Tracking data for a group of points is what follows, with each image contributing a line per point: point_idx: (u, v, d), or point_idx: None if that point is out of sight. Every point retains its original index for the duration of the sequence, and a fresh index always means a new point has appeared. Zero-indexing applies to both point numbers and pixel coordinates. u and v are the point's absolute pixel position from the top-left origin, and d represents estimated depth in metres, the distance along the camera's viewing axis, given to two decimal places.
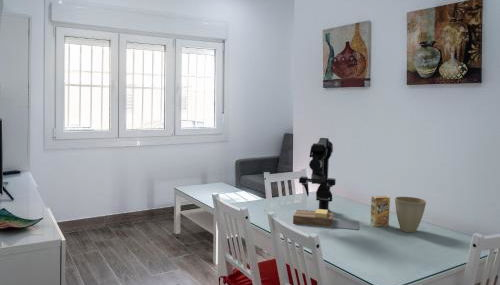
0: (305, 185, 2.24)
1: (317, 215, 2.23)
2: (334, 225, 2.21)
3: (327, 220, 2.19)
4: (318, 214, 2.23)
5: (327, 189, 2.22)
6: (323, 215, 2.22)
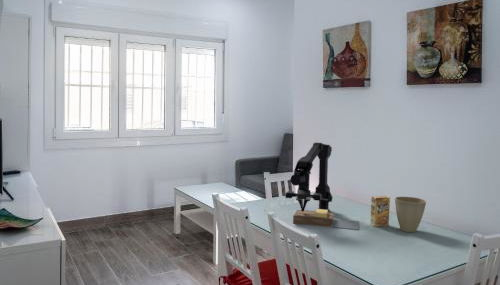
0: (299, 200, 2.27)
1: (317, 215, 2.23)
2: (334, 225, 2.21)
3: (327, 220, 2.19)
4: (318, 214, 2.23)
5: (304, 203, 2.27)
6: (323, 215, 2.22)
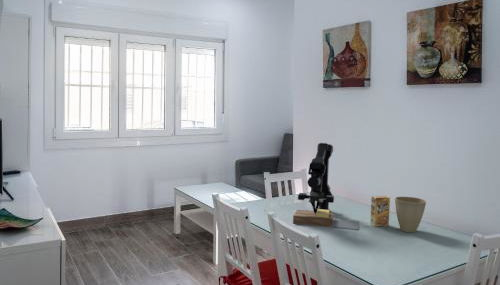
0: (312, 202, 2.25)
1: (319, 215, 2.23)
2: (334, 225, 2.21)
3: (327, 220, 2.19)
4: (320, 214, 2.23)
5: (317, 205, 2.26)
6: (325, 215, 2.22)
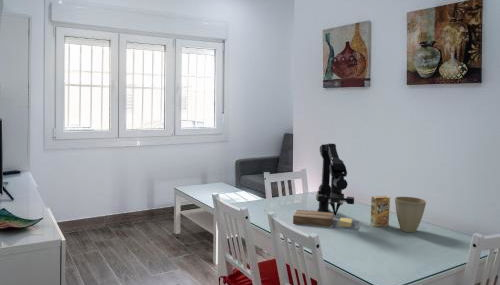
0: (332, 204, 2.23)
1: (348, 224, 2.19)
2: (334, 225, 2.21)
3: (327, 220, 2.19)
4: (347, 225, 2.19)
5: (337, 207, 2.23)
6: (342, 223, 2.20)
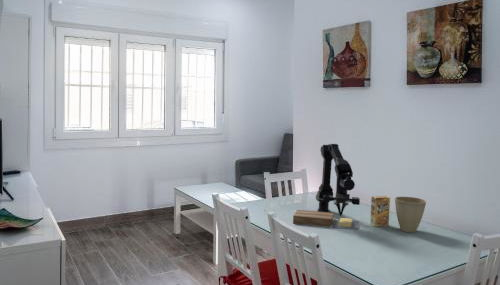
0: (337, 205, 2.22)
1: (348, 224, 2.19)
2: (334, 225, 2.21)
3: (327, 220, 2.19)
4: (347, 225, 2.19)
5: (343, 207, 2.22)
6: (342, 223, 2.20)
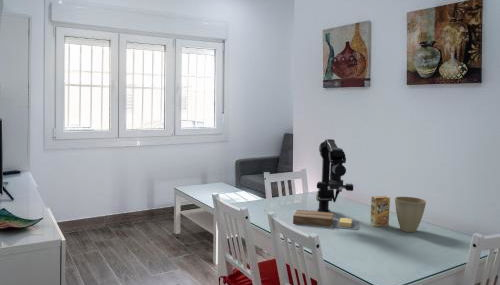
0: (331, 191, 2.22)
1: (348, 224, 2.19)
2: (334, 225, 2.21)
3: (327, 220, 2.19)
4: (347, 225, 2.19)
5: (336, 194, 2.23)
6: (342, 223, 2.20)
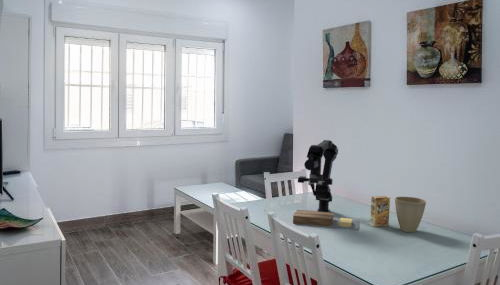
0: (311, 185, 2.35)
1: (348, 224, 2.19)
2: (334, 225, 2.21)
3: (327, 220, 2.19)
4: (347, 225, 2.19)
5: (316, 188, 2.35)
6: (342, 223, 2.20)
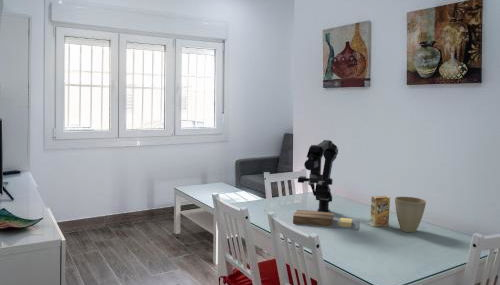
0: (311, 185, 2.35)
1: (348, 224, 2.19)
2: (334, 225, 2.21)
3: (327, 220, 2.19)
4: (347, 225, 2.19)
5: (316, 188, 2.35)
6: (342, 223, 2.20)
